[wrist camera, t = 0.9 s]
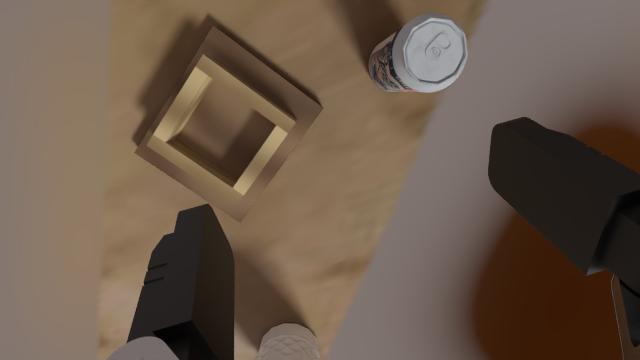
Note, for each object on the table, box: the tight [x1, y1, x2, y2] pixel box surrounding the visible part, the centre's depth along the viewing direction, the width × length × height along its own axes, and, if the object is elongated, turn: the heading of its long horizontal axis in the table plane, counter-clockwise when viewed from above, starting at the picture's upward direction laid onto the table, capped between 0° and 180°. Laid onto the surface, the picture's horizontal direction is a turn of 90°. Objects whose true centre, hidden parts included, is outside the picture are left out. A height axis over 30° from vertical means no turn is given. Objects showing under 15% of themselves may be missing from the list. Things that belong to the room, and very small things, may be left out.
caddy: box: [135, 26, 323, 222], centre depth 33 cm, size 14×12×4 cm
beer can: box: [369, 13, 468, 93], centre depth 27 cm, size 5×5×12 cm
